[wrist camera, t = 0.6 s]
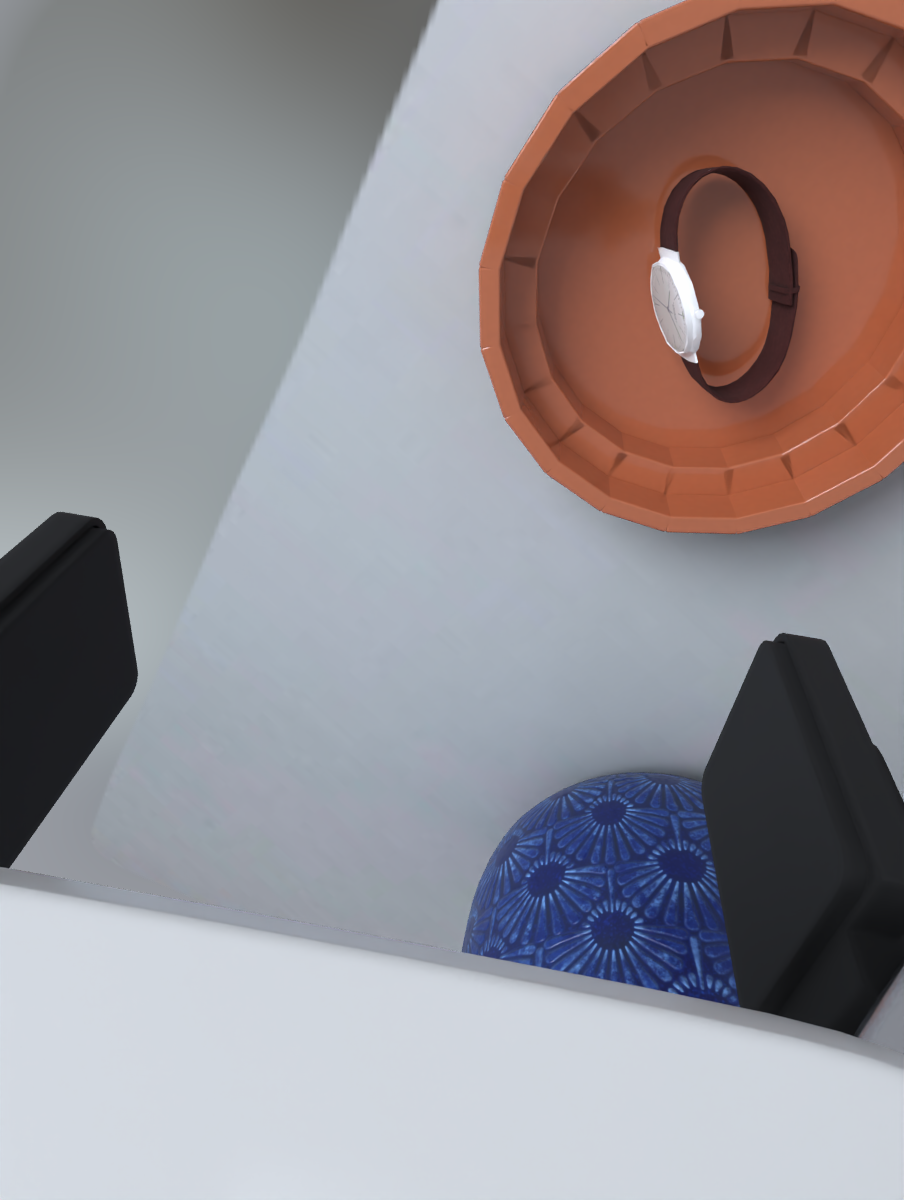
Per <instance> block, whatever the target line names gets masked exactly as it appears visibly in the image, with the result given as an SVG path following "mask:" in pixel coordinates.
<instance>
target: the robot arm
mask: <svg viewBox="0 0 904 1200" xmlns="http://www.w3.org/2000/svg"><path fill="white" fill-rule="evenodd" d="M137 676H138V671H137V663H136V657H135V652H134V644H133V638H132V632H131V625H130V619H129V613H128V607H127V600H126V594H125V588H124V581H123V575H122V568H121V562H120V556H119V549H118V543H117V538H116V535H115V534H114V532H113V531H111V530H107V529H106V526H105V524H104V523H103V521H102V520H100V519H99V518H94V517H89V516H83V515H77V514H71V513H65V512H57V513H55V514H53V515H52V516H51V517H49V518H48V519H47V520H46V521H45V522H43V523H42V524H41V525H40V526H39V527H38V528H36V529H35V530H34V531H33V532H32V533H30V534H29V535H28V536H27V537H26V538H25V539H23V540H22V541H21V542H20V543H19V544H18V545H16V546H15V547H14V548H13V549H12V550H10V551H9V552H8V553H7V554H6V555H4V556H3V557H2V558H1V559H0V1200H904V802H903V800H902V797H901V795H900V793H899V791H898V789H897V786H896V784H895V782H894V780H893V778H892V775H891V773H890V771H889V769H888V767H887V765H886V762H885V760H884V758H883V756H882V754H881V753H880V751H879V750H878V748H877V746H875V745H874V744H873V743H872V741H871V739H870V737H869V734H868V732H867V730H866V728H865V725H864V723H863V721H862V719H861V717H860V714H859V712H858V710H857V708H856V706H855V703H854V701H853V699H852V697H851V694H850V692H849V690H848V688H847V686H846V683H845V681H844V679H843V677H842V674H841V672H840V670H839V668H838V666H837V663H836V661H835V659H834V657H833V654H832V652H831V650H830V648H829V646H828V644H827V643H826V641H824V640H822V639H816V638H810V637H804V636H798V635H792V634H786V633H781V634H779V635H778V636H777V637H776V638H775V640H774V641H773V642H772V641H763V643H762V644H761V645H760V647H759V648H758V651H757V653H756V655H755V657H754V660H753V662H752V664H751V666H750V669H749V671H748V673H747V675H746V678H745V680H744V682H743V684H742V687H741V689H740V691H739V694H738V696H737V698H736V700H735V703H734V705H733V707H732V709H731V712H730V714H729V716H728V718H727V721H726V723H725V725H724V728H723V730H722V732H721V734H720V737H719V739H718V741H717V743H716V746H715V748H714V750H713V752H712V755H711V757H710V759H709V761H708V764H707V766H706V768H705V771H704V774H703V778H702V786H701V793H702V801H703V806H704V812H705V817H706V823H707V828H708V834H709V839H710V845H711V850H712V856H713V861H714V867H715V873H716V878H717V884H718V889H719V895H720V900H721V906H722V911H723V917H724V922H725V928H726V933H727V939H728V944H729V950H730V956H731V961H732V967H733V972H734V978H735V983H736V989H737V994H738V1000H739V1005H740V1007H736V1006H731V1005H726V1004H722V1003H717V1002H712V1001H707V1000H702V999H698V998H693V997H688V996H683V995H679V994H674V993H669V992H664V991H659V990H655V989H650V988H645V987H640V986H635V985H630V984H625V983H620V982H615V981H609V980H604V979H599V978H594V977H589V976H583V975H578V974H573V973H568V972H563V971H557V970H552V969H547V968H542V967H537V966H531V965H526V964H521V963H516V962H511V961H505V960H500V959H495V958H490V957H485V956H480V955H474V954H469V953H464V952H459V951H454V950H448V949H443V948H438V947H433V946H427V945H422V944H417V943H411V942H406V941H401V940H395V939H390V938H385V937H379V936H374V935H369V934H363V933H358V932H353V931H347V930H342V929H337V928H332V927H326V926H321V925H316V924H310V923H305V922H299V921H294V920H289V919H283V918H278V917H273V916H267V915H262V914H256V913H251V912H246V911H240V910H235V909H230V908H224V907H219V906H213V905H208V904H203V903H197V902H192V901H186V900H181V899H175V898H170V897H164V896H159V895H153V894H148V893H142V892H136V891H131V890H126V889H120V888H115V887H109V886H103V885H98V884H92V883H86V882H81V881H76V880H70V879H65V878H59V877H54V876H48V875H43V874H37V873H31V872H26V871H21V870H15V869H9V868H10V866H11V865H12V863H13V862H14V861H15V859H16V858H17V856H18V855H19V854H20V852H21V851H22V849H23V848H24V847H25V845H26V844H27V842H28V841H29V839H30V838H31V837H32V835H33V834H34V832H35V831H36V830H37V828H38V827H39V825H40V824H41V823H42V821H43V820H44V818H45V817H46V815H47V814H48V813H49V811H50V810H51V808H52V807H53V806H54V804H55V803H56V801H57V800H58V799H59V797H60V796H61V794H62V793H63V791H64V790H65V789H66V787H67V786H68V784H69V783H70V782H71V780H72V779H73V777H74V776H75V775H76V773H77V772H78V770H79V769H80V767H81V766H82V765H83V763H84V762H85V760H86V759H87V758H88V756H89V755H90V753H91V752H92V751H93V749H94V748H95V746H96V745H97V744H98V742H99V741H100V739H101V738H102V736H103V735H104V734H105V732H106V731H107V729H108V728H109V727H110V725H111V724H112V722H113V721H114V720H115V718H116V717H117V715H118V714H119V712H120V711H121V710H122V708H123V707H124V705H125V704H126V702H127V701H128V700H129V698H130V697H131V695H132V693H133V692H134V689H135V686H136V683H137Z"/></svg>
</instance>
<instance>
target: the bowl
mask: <svg viewBox="0 0 904 1200" xmlns="http://www.w3.org/2000/svg"><path fill="white" fill-rule="evenodd" d="M720 166H731V167H738V168H740V169H743V170H745V171H747V172H750V173H752V174H753V175H754V176H755V177H756V178H758V179H759V180H760V181H761V182H763V183H764V184H765V186H766V187H767V188H768V189H769V191H770V192H771V193H772V195H773V196H774V197H775V199H776V201H777V203H778V205H779V207H780V209H781V212H782V214H783V216H784V218H785V222H786V225H787V229H788V233H789V240H790V247H791V248H792V249H794V251H795V252H796V253H797V257H798V283H799V286H800V290H799V292H798V303H797V310H796V316H795V322H794V327H793V333H792V338H791V341H790V344H789V348H788V351H787V354H786V357H785V359H784V361H783V363H782V365H781V367H780V369H779V371H778V373H777V374H776V375H775V376H774V378H773V379H772V380H771V381H770V383H769V384H768V385H767V386H766V387H765V388H764V389H763V390H761V391H760V392H759V393H758V394H756V395H755V396H754V397H752V398H750V399H748V400H745V401H742V402H738V403H726V402H723V401H720V400H718V399H716V398H715V397H713V396H712V395H711V394H710V393H708V392H707V391H706V390H705V389H703V388H702V387H701V386H700V385H699V384H698V383H697V382H696V381H695V380H694V379H693V378H692V377H691V375H690V374H689V372H688V370H687V369H686V367H685V365H684V363H683V361H682V358H681V356H680V355H679V354H678V353H676V352H675V351H674V350H673V349H672V348H671V347H670V346H669V345H668V344H667V342H666V340H665V337H664V335H663V333H662V331H661V328H660V326H659V323H658V320H657V318H656V314H655V311H654V307H653V301H652V295H651V289H650V276H651V269H652V265H653V264H654V263H656V262H658V261H659V260H660V254H659V251H658V248H659V247H660V225H661V220H662V215H663V210H664V206H665V204H666V201H667V199H668V197H669V195H670V193H671V191H672V189H673V188H674V187H675V186H676V185H677V184H678V183H679V182H680V180H681V179H682V178H684V177H685V176H687V175H688V174H690V173H692V172H694V171H696V170H700V169H705V168H712V167H720ZM677 234H678V251H679V257H680V261H681V262H682V264H683V265H684V266H685V268H686V270H687V273H688V275H689V277H690V279H691V282H692V284H693V287H694V291H695V295H696V299H697V302H698V306H699V309H701V310H703V312H704V316H703V318H702V319H701V330H702V337H701V341H700V346H699V349H698V350H697V352H696V355H697V360H698V363H699V367H700V370H701V374H702V376H703V378H704V380H705V381H706V383H707V384H708V385H711V386H715V387H717V386H724V385H728V384H730V383H732V382H734V381H736V380H738V379H739V378H740V377H741V376H742V375H743V374H745V373H746V372H747V371H748V370H749V369H750V367H751V366H752V365H753V363H754V362H755V361H756V360H757V358H758V356H759V354H760V353H761V351H762V349H763V346H764V344H765V341H766V337H767V333H768V329H769V324H770V315H771V306H772V300H770V299H768V289H769V288H768V285H769V265H768V257H767V249H766V240H765V235H764V231H763V227H762V222H761V220H760V217H759V215H758V212H757V210H756V207H755V205H754V204H753V202H752V200H751V199H750V197H749V196H748V194H747V193H746V192H745V191H744V190H743V189H742V188H741V187H740V186H739V185H738V184H737V183H736V182H735V181H733V180H731V179H730V178H728V177H726V176H724V175H721V174H716V173H711V174H709V175H706V176H704V177H703V178H701V179H700V180H699V181H698V182H697V183H696V184H695V185H694V186H693V187H692V189H691V190H690V192H689V193H688V195H687V196H686V199H685V201H684V203H683V206H682V210H681V213H680V216H679V223H678V232H677ZM479 265H480V267H479V311H480V347H481V352H482V355H483V358H484V361H485V364H486V367H487V370H488V373H489V376H490V379H491V382H492V385H493V388H494V391H495V393H496V396H497V399H498V402H499V405H500V408H501V411H502V414H503V417H504V418H505V421H506V422H507V423H508V425H509V426H510V427H511V429H512V430H513V431H514V432H515V434H516V435H517V436H518V438H519V439H520V440H521V442H522V443H523V444H524V446H525V447H526V448H527V450H528V451H529V452H530V454H531V455H532V456H533V458H534V459H535V460H536V462H537V463H538V464H539V466H540V467H541V468H542V470H543V471H544V472H545V473H547V475H549V476H550V477H551V478H553V479H554V480H556V481H557V482H559V483H560V484H561V485H563V486H564V487H566V488H567V489H569V490H570V491H572V492H573V493H574V494H576V495H577V496H579V497H580V498H582V499H583V500H585V501H586V502H587V503H589V504H590V505H592V506H593V507H595V508H596V509H597V510H599V511H602V512H603V513H607V514H610V515H613V516H616V517H619V518H622V519H626V520H629V521H632V522H635V523H638V524H641V525H645V526H648V527H651V528H654V529H657V530H660V531H666V532H679V533H717V534H736V533H737V534H740V533H744V532H749V531H753V530H757V529H761V528H766V527H770V526H774V525H778V524H783V523H787V522H791V521H795V520H800V519H804V518H808V517H810V515H811V516H813V515H815V514H817V513H819V512H821V511H823V510H825V509H827V508H829V507H831V506H833V505H835V504H837V503H839V502H841V501H843V500H844V499H846V498H848V497H850V496H852V495H854V494H856V493H858V492H860V491H862V490H864V489H866V488H868V487H870V486H872V485H874V484H876V483H878V482H880V481H882V480H883V478H886V477H887V476H888V475H889V474H890V473H892V472H893V471H894V470H895V469H896V468H897V467H899V466H900V465H901V464H902V463H903V462H904V0H685V1H683V2H681V3H678V4H676V5H674V6H672V7H669V8H667V9H665V10H662V11H660V12H658V13H656V14H653V15H651V16H649V17H647V18H644V19H642V20H640V21H639V22H637V23H635V24H634V25H633V26H631V27H630V28H629V29H628V30H626V31H625V32H624V33H623V34H622V35H621V36H620V37H619V38H617V39H616V40H615V41H614V42H613V43H612V44H611V45H609V46H608V47H607V48H606V49H605V50H604V51H603V52H602V53H600V54H599V55H598V56H597V57H596V58H595V59H594V60H593V61H591V62H590V63H589V64H588V65H587V66H586V67H585V68H584V69H582V70H581V71H580V72H579V73H578V74H577V75H576V76H574V77H573V78H572V79H571V80H570V81H569V82H568V83H567V84H565V85H564V86H563V87H562V88H561V89H560V90H559V92H558V93H557V94H556V95H555V97H554V98H553V100H552V102H551V103H550V105H549V106H548V108H547V110H546V111H545V113H544V114H543V116H542V118H541V119H540V121H539V122H538V124H537V126H536V127H535V129H534V130H533V132H532V134H531V135H530V137H529V138H528V140H527V142H526V143H525V145H524V146H523V148H522V150H521V151H520V153H519V154H518V156H517V158H516V159H515V161H514V162H513V164H512V166H511V167H510V169H509V170H508V172H507V174H506V175H505V178H504V180H503V182H502V185H501V189H500V193H499V196H498V200H497V203H496V207H495V210H494V214H493V217H492V221H491V225H490V228H489V232H488V235H487V239H486V242H485V246H484V249H483V253H482V257H481V260H480V264H479Z"/></svg>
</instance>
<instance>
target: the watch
mask: <svg viewBox="0 0 904 1200" xmlns="http://www.w3.org/2000/svg"><path fill="white" fill-rule="evenodd" d="M711 173H716V174H721V175H724V176H726V177H728V178H730V179H731V180H733V181H735V182H736V183H737V184H738V185H739V186H740V187H741V188H742V189H743V190H744V191H745V192H746V193H747V194H748V196H749V197H750V199H751V200H752V202H753V204H754V205H755V207H756V210H757V212H758V215H759V217H760V220H761V222H762V227H763V231H764V235H765V240H766V249H767V257H768V265H769V285H768V288H769V289H768V299H770V300H772V306H771V315H770V324H769V329H768V333H767V337H766V341H765V344H764V346H763V349H762V351H761V353H760V354H759V356H758V358H757V360H756V361H755V362H754V363H753V365H752V366H751V367H750V369H749V370H748V371H747V372H746V373H745V374H743V375H742V376H741V377H740V378H739V379H738V380H736V381H734V382H732V383H730V384H728V385H724V386H717V387H715V386H711V385H708V384H707V383H706V381H705V380H704V378H703V376H702V374H701V370H700V367H699V363H698V360H697V355H696V352H697V350H698V349H699V346H700V341H701V337H702V330H701V319H702V318H703V316H704V312H703V310H701V309H699V306H698V302H697V299H696V295H695V291H694V287H693V284H692V282H691V279H690V277H689V275H688V273H687V270H686V268H685V266H684V265H683V264H682V262H681V261H680V257H679V251H678V234H677V232H678V223H679V216H680V213H681V210H682V206H683V203H684V201H685V199H686V196H687V195H688V193H689V192H690V190H691V189H692V187H693V186H694V185H695V184H696V183H697V182H698V181H699V180H700V179H701V178H703V177H704V176H706V175H709V174H711ZM658 251H659V254H660V260H659V261H658V262H656V263H654V264H653V265H652V269H651V276H650V289H651V295H652V301H653V307H654V311H655V314H656V318H657V320H658V323H659V326H660V328H661V331H662V333H663V335H664V337H665V340H666V342H667V344H668V345H669V346H670V347H671V348H672V349H673V350H674V351H675V352H676V353H678V354H679V355H680V356H681V358H682V361H683V363H684V365H685V367H686V369H687V370H688V372H689V374H690V375H691V377H692V378H693V379H694V380H695V381H696V382H697V383H698V384H699V385H700V386H701V387H702V388H703V389H705V390H706V391H707V392H708V393H710V394H711V395H712V396H713V397H715V398H716V399H718V400H720V401H723V402H726V403H738V402H742V401H745V400H748V399H750V398H752V397H754V396H755V395H756V394H758V393H759V392H760V391H761V390H763V389H764V388H765V387H766V386H767V385H768V384H769V383H770V381H771V380H772V379H773V378H774V376H775V375H776V374H777V373H778V371H779V369H780V367H781V365H782V363H783V361H784V359H785V357H786V354H787V351H788V348H789V344H790V341H791V338H792V333H793V327H794V322H795V316H796V310H797V303H798V292H799V290H800V286H799V283H798V257H797V253H796V252H795V251H794V249H792V248H791V247H790V240H789V233H788V229H787V225H786V222H785V218H784V216H783V214H782V212H781V209H780V207H779V205H778V203H777V201H776V199H775V197H774V196H773V195H772V193H771V192H770V191H769V189H768V188H767V187H766V186H765V184H764V183H763V182H761V181H760V180H759V179H758V178H756V177H755V176H754V175H753V174H752V173H750V172H747V171H745V170H743V169H740V168H738V167H731V166H720V167H712V168H705V169H700V170H696V171H694V172H692V173H690V174H688V175H687V176H685V177H684V178H682V179H681V180H680V182H679V183H678V184H677V185H676V186H675V187H674V188H673V189H672V191H671V193H670V195H669V197H668V199H667V201H666V204H665V206H664V210H663V215H662V220H661V225H660V247H659V248H658Z"/></svg>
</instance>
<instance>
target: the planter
mask: <svg viewBox="0 0 904 1200" xmlns="http://www.w3.org/2000/svg"><path fill="white" fill-rule="evenodd" d="M701 786H702V782H699V781H695V780H692V779H688V778H684V777H679V776H674V775H667V774H658V773H624V774H614V775H608V776H602V777H598V778H594V779H590V780H586V781H583V782H581V783H578V784H575V785H573V786H570V787H568V788H566V789H563V790H562V791H560V792H558V793H556V794H554V795H552V796H550V797H548V798H547V799H545V800H543V801H542V802H541V803H539V804H538V805H536V806H535V807H533V808H532V809H531V810H529V811H528V812H527V813H526V814H524V815H523V816H522V817H521V818H520V819H519V820H518V821H517V822H516V823H515V824H514V825H513V826H512V827H511V829H510V830H509V831H508V832H507V834H506V835H505V836H504V837H503V839H502V840H501V842H500V843H499V845H498V846H497V848H496V850H495V851H494V853H493V855H492V856H491V858H490V860H489V862H488V864H487V867H486V869H485V871H484V873H483V875H482V877H481V879H480V882H479V884H478V887H477V890H476V893H475V896H474V899H473V903H472V907H471V911H470V915H469V919H468V923H467V927H466V932H465V937H464V942H463V947H462V952H464V953H469V954H474V955H480V956H485V957H490V958H495V959H500V960H505V961H511V962H516V963H521V964H526V965H531V966H537V967H542V968H547V969H552V970H557V971H563V972H568V973H573V974H578V975H583V976H589V977H594V978H599V979H604V980H609V981H615V982H620V983H625V984H630V985H635V986H640V987H645V988H650V989H655V990H659V991H664V992H669V993H674V994H679V995H683V996H688V997H693V998H698V999H702V1000H707V1001H712V1002H717V1003H722V1004H726V1005H731V1006H736V1007H740V1005H739V1000H738V994H737V989H736V983H735V978H734V972H733V967H732V961H731V956H730V950H729V944H728V939H727V933H726V928H725V922H724V917H723V911H722V906H721V900H720V895H719V889H718V884H717V878H716V873H715V867H714V861H713V856H712V850H711V845H710V839H709V834H708V828H707V823H706V817H705V812H704V806H703V801H702V793H701Z"/></svg>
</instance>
